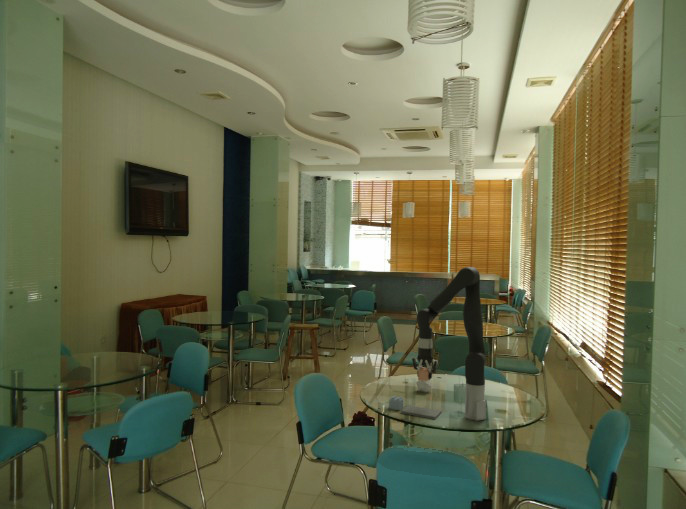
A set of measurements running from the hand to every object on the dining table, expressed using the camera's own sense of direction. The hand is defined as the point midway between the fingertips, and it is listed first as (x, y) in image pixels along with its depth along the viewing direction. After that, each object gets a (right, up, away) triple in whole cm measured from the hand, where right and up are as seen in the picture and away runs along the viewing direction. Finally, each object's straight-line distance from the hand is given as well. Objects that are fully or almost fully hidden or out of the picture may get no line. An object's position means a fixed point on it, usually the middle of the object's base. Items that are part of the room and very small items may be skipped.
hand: (424, 378), depth 273 cm
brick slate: (-15, -15, -2) cm, 22 cm away
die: (+4, -15, +30) cm, 34 cm away
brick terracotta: (0, -1, 0) cm, 1 cm away
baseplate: (-3, -15, -10) cm, 18 cm away
